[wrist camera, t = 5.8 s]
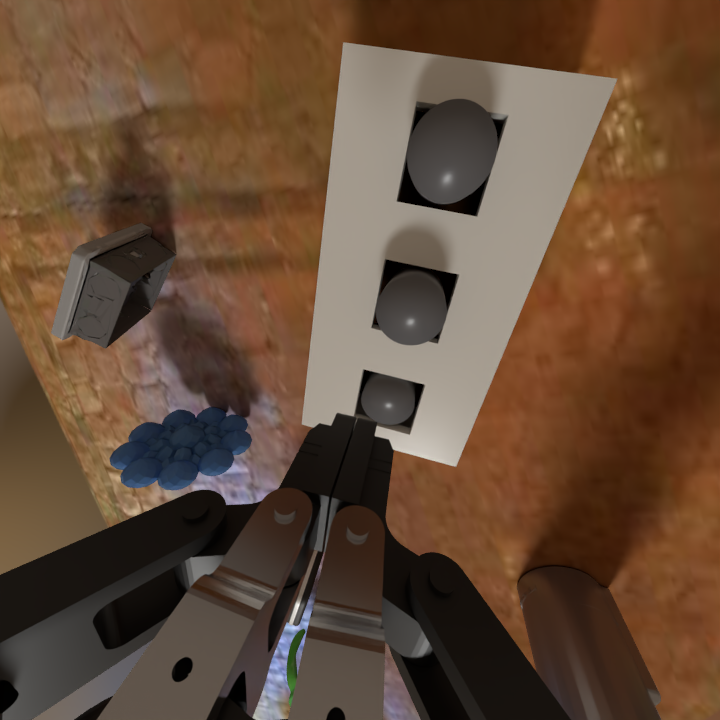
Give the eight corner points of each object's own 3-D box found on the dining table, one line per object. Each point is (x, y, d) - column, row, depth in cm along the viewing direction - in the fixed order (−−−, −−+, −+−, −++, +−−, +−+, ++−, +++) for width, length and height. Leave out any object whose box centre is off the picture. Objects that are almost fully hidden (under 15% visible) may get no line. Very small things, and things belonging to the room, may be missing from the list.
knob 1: (451, 272, 23) (456, 285, 18) (434, 328, 25) (435, 352, 20) (392, 260, 23) (383, 269, 19) (380, 315, 25) (370, 336, 21)
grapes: (181, 427, 40) (92, 503, 30) (176, 383, 37) (74, 450, 27) (265, 451, 39) (203, 539, 28) (267, 407, 36) (198, 487, 25)
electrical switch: (147, 220, 30) (49, 230, 21) (195, 256, 31) (119, 278, 23) (120, 293, 34) (29, 325, 26) (163, 323, 35) (89, 362, 27)
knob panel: (568, 115, 21) (617, 78, 15) (451, 425, 32) (455, 466, 27) (364, 85, 22) (343, 42, 17) (322, 391, 33) (301, 424, 28)
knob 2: (422, 360, 29) (420, 386, 24) (410, 399, 31) (407, 430, 26) (375, 349, 29) (366, 372, 25) (367, 388, 31) (357, 416, 27)
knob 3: (492, 132, 19) (511, 105, 15) (469, 211, 21) (479, 209, 16) (421, 121, 19) (419, 92, 15) (405, 199, 21) (398, 193, 17)
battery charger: (311, 494, 40) (271, 587, 30) (338, 504, 40) (308, 601, 30) (301, 526, 44) (262, 621, 33) (327, 536, 43) (295, 634, 33)
